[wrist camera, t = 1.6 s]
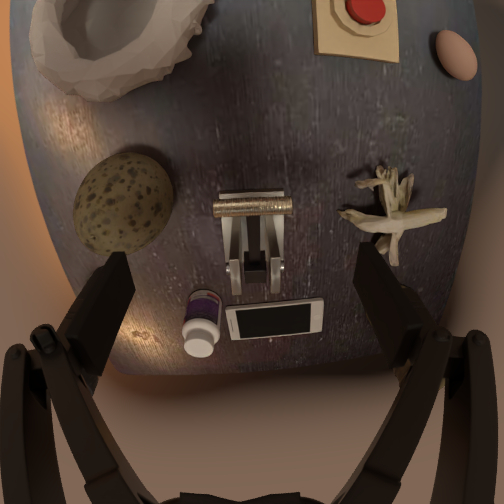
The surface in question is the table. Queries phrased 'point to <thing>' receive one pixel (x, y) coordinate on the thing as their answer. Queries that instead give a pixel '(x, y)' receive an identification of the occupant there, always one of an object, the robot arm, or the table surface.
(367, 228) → the branching beige root
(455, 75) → the egg
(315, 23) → the button box
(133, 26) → the bowl
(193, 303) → the pill bottle
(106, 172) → the decorative egg
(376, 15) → the button
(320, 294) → the table surface
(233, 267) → the switch bracket
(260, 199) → the lever
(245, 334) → the smartphone
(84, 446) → the robot arm
